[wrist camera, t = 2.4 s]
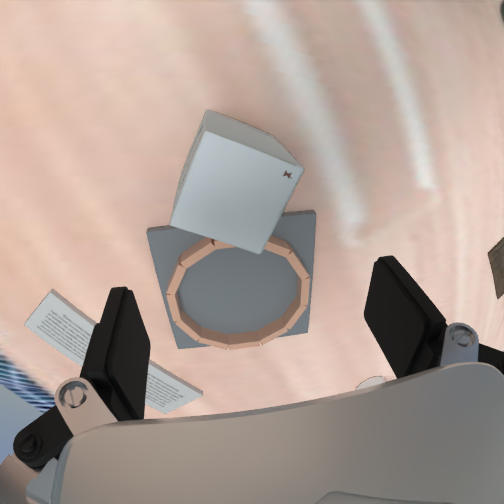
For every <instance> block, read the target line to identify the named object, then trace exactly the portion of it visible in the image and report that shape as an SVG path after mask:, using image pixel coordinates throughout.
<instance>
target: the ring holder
mask: <svg viewBox="0 0 504 504" xmlns="http://www.w3.org/2000/svg"><path fill="white" fill-rule="evenodd" d="M315 226H316V213H315V212H314V210H309V211H298V212H287V213H282V215H281V217H280V218H279V220H278V222H277V224H276V226H275V228H274V230H273V232H272V234H271V236H270V238H269V240H268V242H267V244H266V246H265V248H264V250H263V251H262V253H261V254H255V253H253V252H250V251H247V250H244V249H241V248H238V247H235V246H232V245H229V244H226V243H223V242H220V241H218V240H215V239H212V238H208V237H205V236H202V235H199V234H196V233H192V232H189V231H186V230H183V229H180V228H177V227H173V226H170V225H169V226H161V227H153V228H148V229H147V232H146V233H147V237H148V241H149V246H150V250H151V254H152V258H153V262H154V266H155V270H156V274H157V278H158V282H159V285H160V289H161V293H162V296H163V300H164V304H165V307H166V311H167V314H168V317H169V321H170V324H171V328H172V331H173V334H174V337H175V341H176V344H177V347H178V349H185V348H195V347H206V346H214V347H218V348H222V349H228V347H229V350H231V349H239V348H247V347H255V346H260V343H261V344H262V345H263V344H265V343H267V342H269V341H271V340H273V339H274V338H277V337H284V336H290V335H297V334H303V333H308V325H309V314H310V303H311V290H312V276H313V261H314V245H315Z"/></svg>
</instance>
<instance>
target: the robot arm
mask: <svg viewBox="0 0 504 504" xmlns="http://www.w3.org/2000/svg"><path fill="white" fill-rule="evenodd" d="M364 318H365V321H366V322H367V324H368V326H369V328H370V330H371V331H372V333H373V335H374V337H375V338H376V340H377V342H378V344H379V346H380V348H381V349H382V351H383V353H384V355H385V357H386V359H387V360H388V362H389V364H390V366H391V368H392V370H393V372H394V373H395V375H396V377H397V379H395V380H392V381H388V382H385V383H381V384H378V385H374V386H370V387H367V388H363V389H359V390H355V391H351V392H346V393H342V394H338V395H333V396H329V397H324V398H319V399H315V400H310V401H304V402H299V403H294V404H288V405H282V406H276V407H270V408H263V409H256V410H249V411H241V412H233V413H224V414H214V415H202V416H190V417H176V418H159V419H144V409H145V397H146V386H147V376H148V366H149V357H150V340H149V337H148V334H147V332H146V329H145V326H144V323H143V320H142V318H141V315H140V312H139V309H138V306H137V303H136V300H135V297H134V294H133V291H132V290H128V288H127V287H115V288H111V290H110V293H109V296H108V299H107V302H106V305H105V308H104V311H103V314H102V318H101V321H100V323H97V324H96V325H95V326H94V329H93V332H92V335H91V338H90V342H89V345H88V348H87V352H86V355H85V359H84V362H83V366H82V370H81V373H80V377H79V378H78V377H75V378H70V379H68V380H66V381H64V382H63V383H62V384H60V386H59V387H58V388H57V390H56V393H55V403H56V405H55V406H54V407H52V408H51V409H50V410H48V411H47V412H45V413H44V414H43V415H42V416H40V417H39V418H37V419H36V420H35V421H33V422H32V423H30V424H29V425H28V426H26V427H25V428H24V429H22V430H21V431H20V432H19V433H18V434H17V436H16V437H15V440H14V443H13V449H14V453H13V455H12V456H10V455H8V456H7V457H6V458H5V460H4V461H3V462H2V464H1V465H0V504H49V501H50V499H51V503H50V504H504V352H502V351H499V350H496V349H494V348H491V347H488V346H485V345H482V344H480V343H479V339H478V335H477V333H476V332H475V331H474V329H473V328H471V327H470V326H468V325H466V324H464V323H452V324H450V325H449V326H448V325H447V324H446V323H445V322H446V319H445V318H444V316H443V315H442V314H441V313H440V311H439V310H438V309H437V307H436V306H435V305H434V304H433V302H432V301H431V300H430V299H429V297H428V296H427V295H426V294H425V293H424V291H423V290H422V289H421V288H420V286H419V285H418V284H417V283H416V282H415V280H414V279H413V278H412V277H411V276H410V274H409V273H408V272H407V271H406V270H405V269H404V267H403V266H402V265H401V264H400V263H399V262H398V261H397V259H396V258H395V257H394V256H384V257H379V258H378V260H377V261H376V262H375V263H374V266H373V272H372V277H371V282H370V287H369V291H368V296H367V301H366V305H365V310H364Z"/></svg>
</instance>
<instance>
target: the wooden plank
mask: <svg viewBox="0 0 504 504" xmlns="http://www.w3.org/2000/svg"><path fill="white" fill-rule="evenodd" d="M488 256H489V259H490V264H491V268H492V272H493V277H494V282H495V287H496V293H497V298H498V299H499V298H500V297H501V296H502V295H503V294H504V237H503V238H502V239H501V240H500V241H499V242H498V243H497V245H495V246H494V247H493V248H492V249H491V250H490V251H489V253H488Z"/></svg>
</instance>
